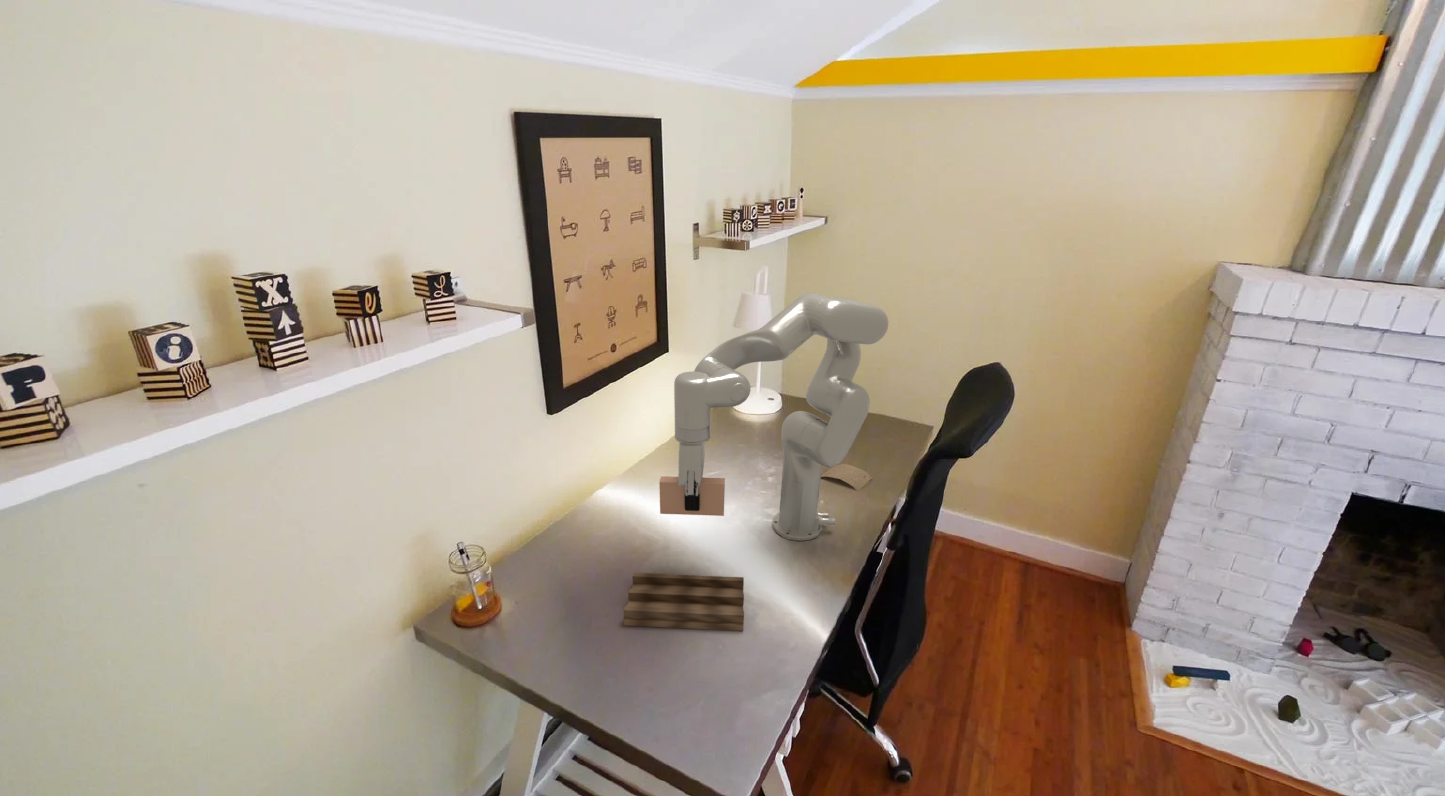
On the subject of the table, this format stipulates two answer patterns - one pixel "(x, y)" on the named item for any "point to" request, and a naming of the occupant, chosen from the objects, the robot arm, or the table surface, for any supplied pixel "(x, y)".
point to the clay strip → (708, 490)
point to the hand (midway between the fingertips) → (692, 505)
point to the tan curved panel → (849, 475)
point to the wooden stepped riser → (685, 602)
